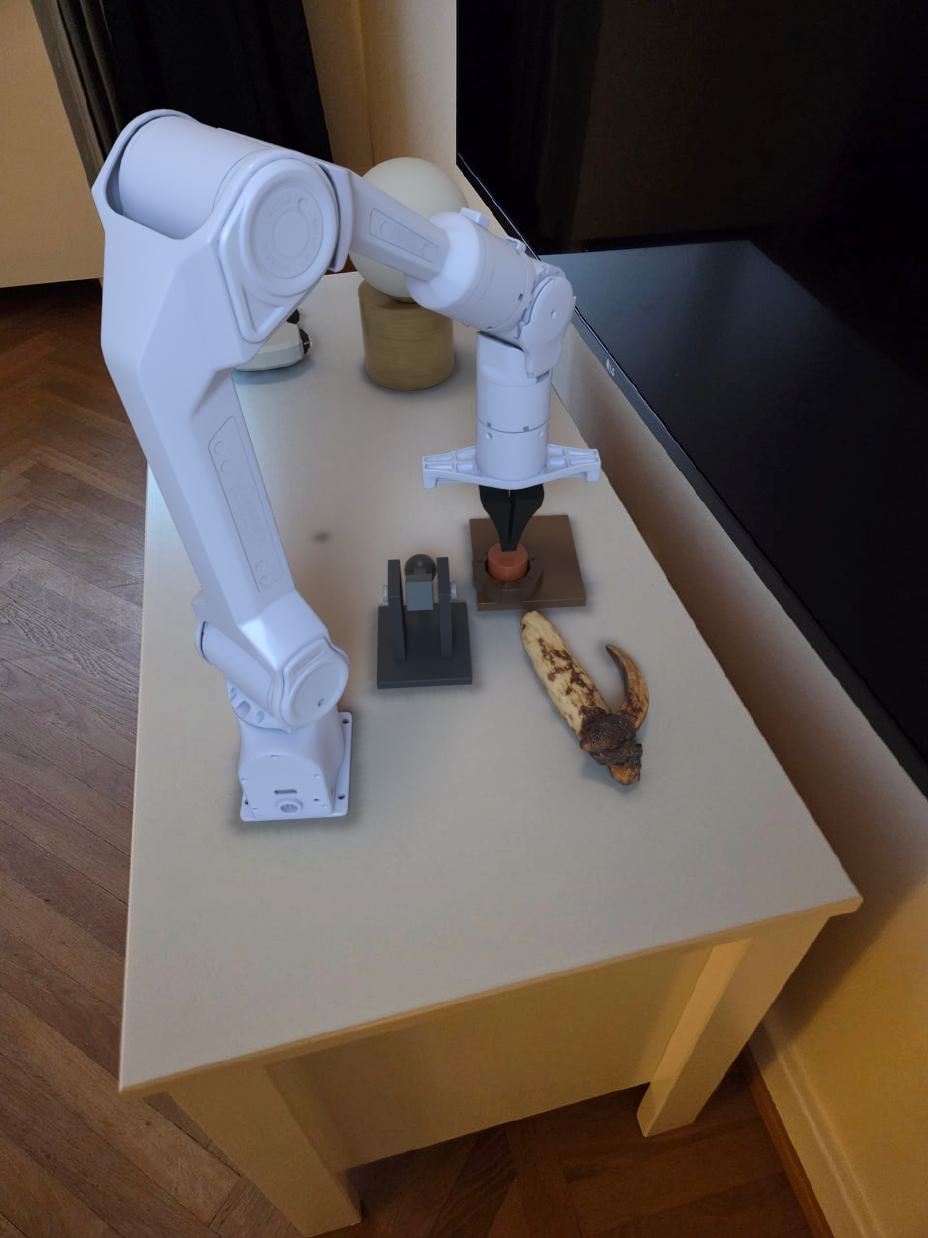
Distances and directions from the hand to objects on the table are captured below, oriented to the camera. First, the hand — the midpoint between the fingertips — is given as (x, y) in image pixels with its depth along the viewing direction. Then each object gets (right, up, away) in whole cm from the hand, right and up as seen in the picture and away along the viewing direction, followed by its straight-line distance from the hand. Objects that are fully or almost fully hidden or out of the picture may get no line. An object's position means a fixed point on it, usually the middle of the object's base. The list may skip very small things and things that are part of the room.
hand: (507, 544), depth 75 cm
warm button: (0, -2, +2) cm, 3 cm away
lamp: (-10, +24, +31) cm, 40 cm away
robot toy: (-30, +29, +33) cm, 53 cm away
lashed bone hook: (+7, -14, -5) cm, 16 cm away
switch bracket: (-8, -9, -1) cm, 12 cm away
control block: (+2, -1, +6) cm, 7 cm away
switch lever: (-8, -5, -2) cm, 9 cm away
